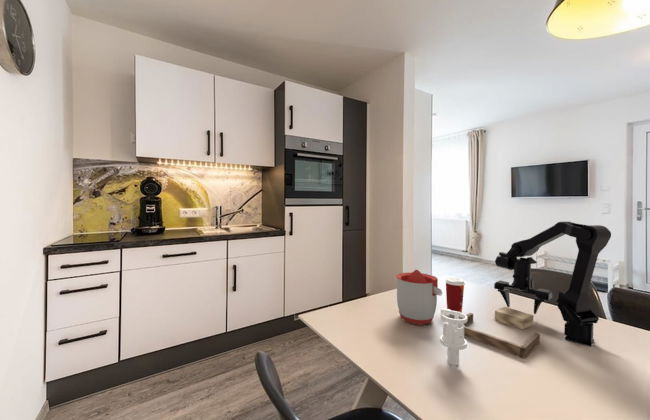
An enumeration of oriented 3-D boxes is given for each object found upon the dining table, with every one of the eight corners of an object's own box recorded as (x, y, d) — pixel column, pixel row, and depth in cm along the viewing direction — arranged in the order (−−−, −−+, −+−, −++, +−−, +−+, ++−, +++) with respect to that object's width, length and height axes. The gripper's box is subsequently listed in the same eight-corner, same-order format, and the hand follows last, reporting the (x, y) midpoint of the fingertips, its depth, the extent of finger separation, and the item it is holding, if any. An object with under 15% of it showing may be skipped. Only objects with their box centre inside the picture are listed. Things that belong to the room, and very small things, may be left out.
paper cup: (468, 316, 113) (468, 282, 112) (449, 315, 113) (449, 282, 112) (459, 308, 120) (459, 277, 120) (441, 308, 121) (441, 277, 120)
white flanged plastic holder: (443, 352, 84) (444, 304, 84) (469, 361, 80) (470, 310, 80) (436, 363, 79) (437, 311, 79) (463, 372, 75) (464, 318, 74)
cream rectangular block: (533, 325, 105) (533, 315, 105) (523, 330, 101) (523, 319, 101) (505, 316, 114) (505, 306, 113) (494, 320, 109) (494, 310, 109)
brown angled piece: (539, 342, 91) (539, 333, 91) (524, 358, 82) (524, 348, 81) (470, 320, 109) (470, 312, 108) (450, 331, 99) (451, 322, 99)
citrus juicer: (435, 333, 97) (436, 277, 97) (389, 320, 108) (390, 270, 107) (446, 319, 110) (447, 269, 109) (404, 308, 120) (404, 263, 120)
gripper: (556, 274, 110) (555, 312, 110) (503, 266, 125) (503, 300, 125) (548, 278, 103) (547, 319, 103) (493, 269, 118) (493, 305, 118)
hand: (521, 310), depth 113 cm, fingers open, 9 cm apart
